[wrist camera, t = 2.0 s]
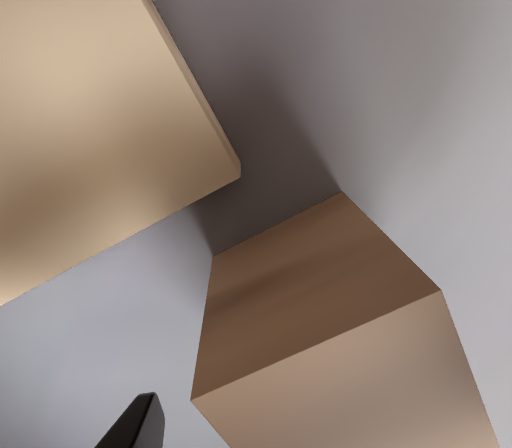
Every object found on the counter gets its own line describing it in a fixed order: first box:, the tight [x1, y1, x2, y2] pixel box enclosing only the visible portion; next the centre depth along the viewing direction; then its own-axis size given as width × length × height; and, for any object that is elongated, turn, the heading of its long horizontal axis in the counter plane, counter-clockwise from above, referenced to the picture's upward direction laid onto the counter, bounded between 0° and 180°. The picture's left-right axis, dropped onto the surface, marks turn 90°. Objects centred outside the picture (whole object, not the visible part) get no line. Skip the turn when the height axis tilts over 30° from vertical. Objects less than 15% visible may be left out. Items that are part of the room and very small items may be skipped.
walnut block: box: [190, 192, 500, 448], centre depth 10 cm, size 5×5×6 cm
